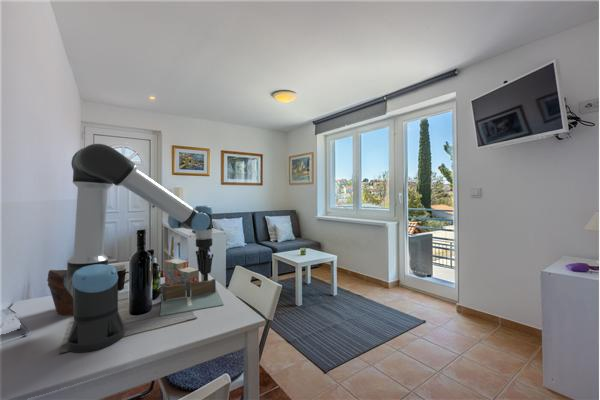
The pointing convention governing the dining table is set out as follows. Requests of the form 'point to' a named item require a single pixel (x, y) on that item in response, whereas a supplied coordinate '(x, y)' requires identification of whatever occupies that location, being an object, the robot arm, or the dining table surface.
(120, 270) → the coffee mug
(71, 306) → the brown flower pot
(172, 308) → the board
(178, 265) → the stack of blocks
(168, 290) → the bar
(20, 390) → the dining table surface
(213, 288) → the fence gate
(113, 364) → the dining table surface
